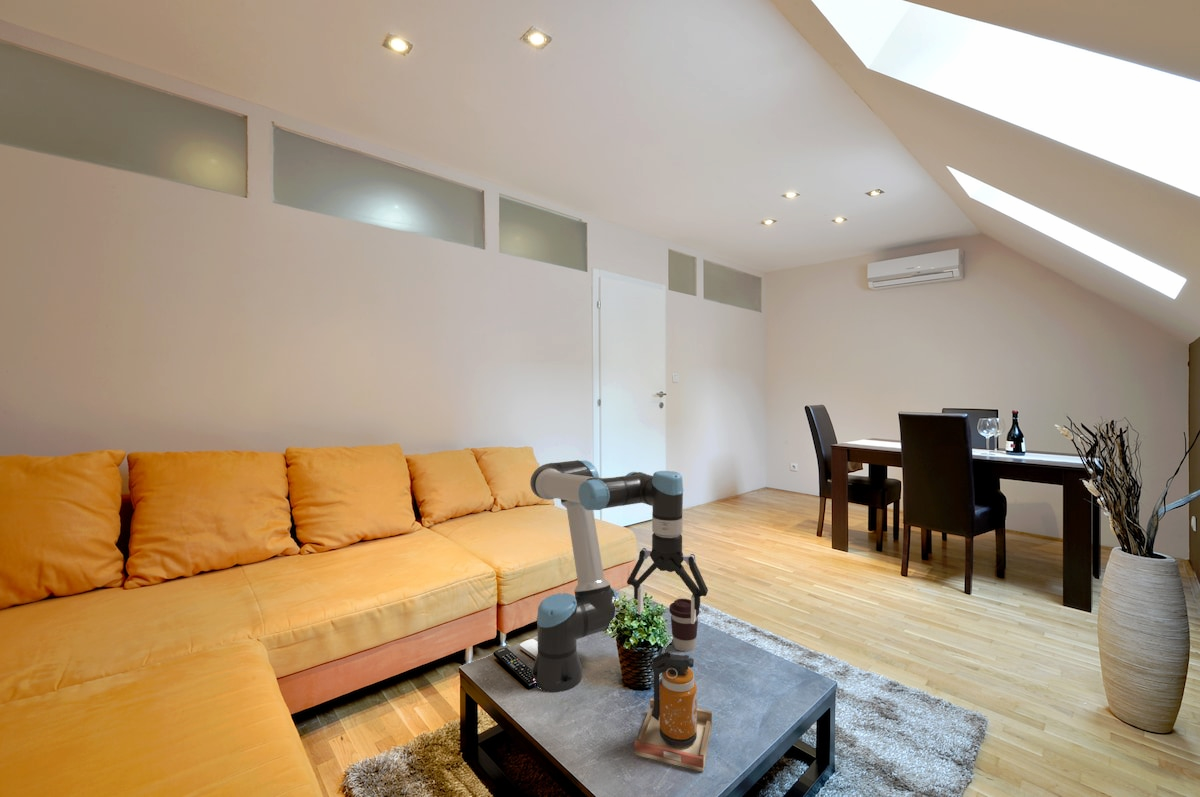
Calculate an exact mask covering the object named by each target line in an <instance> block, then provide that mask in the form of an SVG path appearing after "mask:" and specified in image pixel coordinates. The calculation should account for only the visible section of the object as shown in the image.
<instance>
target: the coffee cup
mask: <svg viewBox="0 0 1200 797" xmlns="http://www.w3.org/2000/svg"><path fill="white" fill-rule="evenodd" d="M668 608H669V613H670V614H671V615H670V623H671V625H670V626H671V634H672V640H673V641H672V643H673V647H674V649H675V650H677V651H680V652H686V653H687V652H691V651H694V650H695V649H696V641H697V636H698V622H699V619H698V616H699V615H700V609H699V610H696V620H695V623H694V624H691V599H688V598H678V599H676V600H674V601H673V602H672V603H671V604H670V605H669V607H668Z"/></svg>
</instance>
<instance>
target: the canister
mask: <svg viewBox="0 0 1200 797" xmlns="http://www.w3.org/2000/svg"><path fill="white" fill-rule="evenodd" d="M694 661H695V660H694V659H693V657H690V656H689V655H688V654H685V655H683V654H682V655H681V654H673V653H670V652H669V651H666V652H663V653H662V654H660V655H657V656H655V657H653V658H651V663H650V667H651V669H652V672H653V678H652V680H653V683H652V686H653V699H654V708H653V710H652V716H653V717H654V718H655V719H656V720H658V721H659V715H660V735H661V737H662V739H663V740H664V741H665V742H667V743H669V744H671V745H674V746H679V747H683V746H688V745H690V744H692V743H693V742H694V741H695V740H696V737H697V708H698V707H697V705H698V704H697V703H698V702H697V699H698V698H697V694H698V692H697V683H696V682H695V674H694V672H693V670H692V669H691V668H693V667H694ZM660 674H661V679H660ZM659 700H660V711H659Z"/></svg>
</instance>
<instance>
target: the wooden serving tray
mask: <svg viewBox="0 0 1200 797" xmlns="http://www.w3.org/2000/svg"><path fill="white" fill-rule="evenodd" d="M653 708H654V698H650V700H649V709H648V711H647V714H646V717H645V719H644V721H643V724H642V726H641V728H640V731H639V733H638V736H637V739H635V740H634V741H633V742H634V744H633V745H634V747H633V749H634V755H636V756H638V757H643V758H647V759H651V760H655V761H658V762H663V763H666V764H671V765H675V766H678V767H683V768H685V769H689V770H694V771H697V772H701V773H704V770H705V765H706V760H707V759H706V758H707V755H708V749H709V743H710V738H711V732H712V728H713V711H712V710H707V709H702V708H698V707H697V737H696V740H695V741H694V742H693V743H692V744H690V745H688V746H683V747H679V746H674V745H671V744H669V743H667V742H665V741H664V740H663V739H662V737H661V735H660V715H659V721H658V720H656V719H655V718H654V717H653V716H652V710H653ZM659 711H660V699H659Z"/></svg>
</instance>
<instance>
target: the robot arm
mask: <svg viewBox="0 0 1200 797" xmlns="http://www.w3.org/2000/svg"><path fill="white" fill-rule="evenodd" d="M530 477H531V478H530V481H529V482H530V483H529V485H530V489H531V491H532V492H533V494H534V495H535V496H536V497H538V498H540V499H543V500H550V501H551V500H554V499H558V500H560V504H561V505H562V506H563V507H564V508H565V509H566V512H567V519H568V526H569V532H570V533H569V534H570V539H571V545H572V552H573V560H574V565H575V571H576V572H575V573H576V580H577V585H576V586H575V587H574V590H573V591H574V595H573V594H572V593H567V592H564V593H559V592H558V593H555V594H551V595H550V596H547V597H545V598H544V599H543V600H542V601H541V602H540V603H539V605H538V607H537V614H536V624H537V627H536V628H537V654H536V657H535V660H534V664H533V667H532V670H531V676H532V675H533V677H534V678H535V679H536V682H537V686H538V687H539V688H541V689H542V690H541V689H540V690H541V691H543V690H545V691H544V692H547V691H549V693H561V692H565V691H569V690H572V689H574V688H575V687H576V686H578V685H579V684H580V683H581V681H582V680H583V667H582V664H581V660H580V656H579V654H578V651H577V640H578V639H582V638H585V637H588V636H591V635H594V634H598V633H601V632H606V631H608V630H609V629H608V626H609V623H610V621H611V620H612V619H613V618H614V617H615V606H614V600H615V599H618V598H620V596H619V595H618V594H619V593H618V592H617V590H616V589H615V588H612V587H611V583H610V582H609V581H608V580H606V578H605V574H604V568H603V567H604V566H603V563H602V562H603V561H602V557H601V550H600V544H599V539H598V533H597V525H596V519H595V513H594V511H600V510H603V509H609V508H615V507H622V506H630V505H636V504H646V505H648V506H650V507H652V517H651V518H652V520H651V522H652V523H651V524H652V527H651V529H652V532H653V533H652V535H651V539H652V540H651V542H652V543H651V550H648V549H647V548H645V547H643V548H642V549H641V550H639V554H638V560H637V562H636V564H635V565H634V567H633V569H632V571H631V573H630V575H629V576H628V579H627V580H626V583H627V585H631V586H632V587H633V589H634V590H633V598H634V600H635V601H637V615H642V613H643V611H644V585H643V583H644V582H645V580H646V579H647V578H648V577H650V575H652V573H653V572H654V571H655V570H657V569H658V570H659V571H661V572H664V571H666V572H668V573H673V572H675V573H676V575H677V576H678V577H680V579H681V580H682V582H683V583H684V584H685V586H686V587H687V588H688V590H689V591H690V593H692V595H691V597H690V600H691V624H694V623H695V620H696V610H699V611H700V607H701V597H706V596H707V594H708V593H709V592H708V591H709V589H708V587H707V584H706V583H705V579H704V577H703V576H702V574H701V572H700V569H699V567H698V565H697V563H696V555H695V554H693V553H691V554H690V555H685V554H683V535H682V533H683V500H684V499H683V496H684V494H683V493H684V485H683V476H682V474H681V473H680V472H678V471H671V470H659V471H654V473H653V474H652V475H650V474H647V473H644V472H640V471H639V472H637V471H631V472H628V473H627V474H626V475H622V476H621V475H620V476H615V477H614V476H613V477H603V478H602V477H600V475H599V472H598V470H597V468H596V466H595V465H594V464H593V463H592V462H591V461H588V460H571V461H569V460H568V461H561V462H559V461H558V462H550V463H545V464H542V465H540V466H539V467H537V468H536V469H535V470H534V472H533V473H532V474H531V476H530ZM649 557H650V559H651V561H652V562H653V563H651V565H650V566H649V567H648V568H647V569H646V570H645V571H644V573H642V574H641V575H640V576H639V577H638V578H637V579H636V577H637V576H638V575H637V574H638V573H639V571H640V569H641V567H642V566H643V564H644V562H645V560H647V559H648V558H649ZM683 562H685V563H686V565H688V566H689V569H690V572H691V574H692V577H693V579H694V580H695V581H694V580H693V579H692V578H691V576H690V575H689V574H688V572H687V571H686V569H685V568H684V566H683V564H682V563H683ZM607 629H608V630H607ZM539 688H538V689H539ZM560 691H561V692H560Z"/></svg>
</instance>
